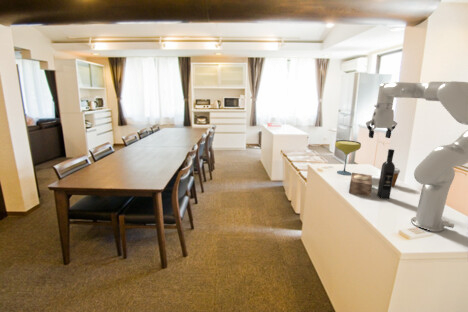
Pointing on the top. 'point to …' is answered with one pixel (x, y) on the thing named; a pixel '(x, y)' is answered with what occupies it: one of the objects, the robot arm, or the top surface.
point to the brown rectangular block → (360, 184)
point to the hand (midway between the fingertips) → (379, 137)
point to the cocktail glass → (347, 150)
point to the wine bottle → (386, 177)
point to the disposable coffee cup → (395, 176)
